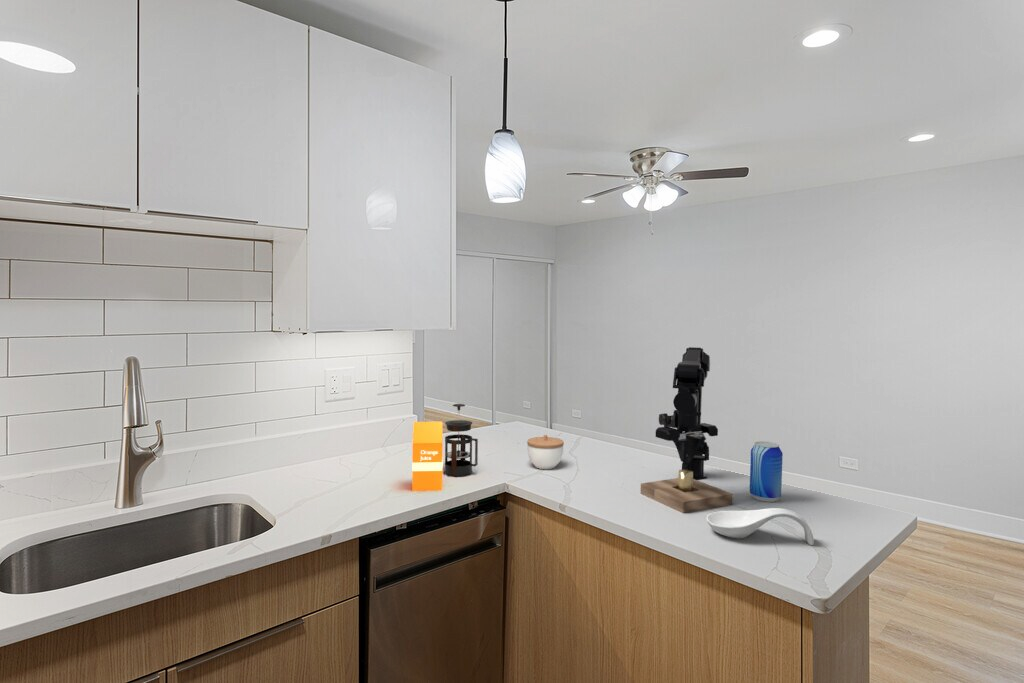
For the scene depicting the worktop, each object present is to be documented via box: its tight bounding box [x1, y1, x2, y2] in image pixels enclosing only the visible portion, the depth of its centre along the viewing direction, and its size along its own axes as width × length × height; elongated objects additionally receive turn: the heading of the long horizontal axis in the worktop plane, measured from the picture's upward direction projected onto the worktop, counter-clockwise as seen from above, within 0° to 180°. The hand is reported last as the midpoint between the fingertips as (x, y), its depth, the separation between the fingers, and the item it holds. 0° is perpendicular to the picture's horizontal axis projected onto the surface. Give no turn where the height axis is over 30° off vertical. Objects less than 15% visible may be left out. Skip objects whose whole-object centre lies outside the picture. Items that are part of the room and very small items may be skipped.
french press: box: [443, 403, 479, 478], centre depth 184 cm, size 12×9×23 cm
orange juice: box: [411, 421, 444, 492], centre depth 169 cm, size 8×9×20 cm
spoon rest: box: [705, 507, 815, 546], centre depth 135 cm, size 24×12×7 cm, turn 74°
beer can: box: [749, 441, 783, 503], centre depth 162 cm, size 8×8×16 cm
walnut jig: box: [640, 477, 734, 514], centre depth 161 cm, size 18×18×3 cm
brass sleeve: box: [677, 469, 693, 492], centre depth 161 cm, size 4×4×8 cm
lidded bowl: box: [526, 434, 565, 470], centre depth 194 cm, size 13×13×11 cm
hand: (686, 461), depth 161 cm, fingers open, 2 cm apart
